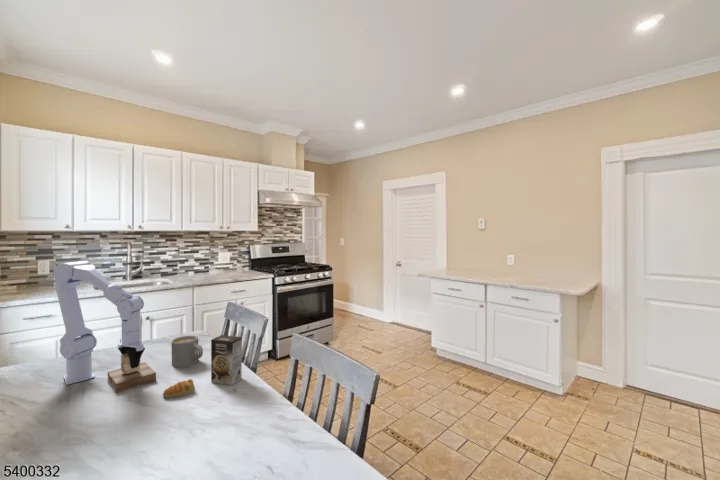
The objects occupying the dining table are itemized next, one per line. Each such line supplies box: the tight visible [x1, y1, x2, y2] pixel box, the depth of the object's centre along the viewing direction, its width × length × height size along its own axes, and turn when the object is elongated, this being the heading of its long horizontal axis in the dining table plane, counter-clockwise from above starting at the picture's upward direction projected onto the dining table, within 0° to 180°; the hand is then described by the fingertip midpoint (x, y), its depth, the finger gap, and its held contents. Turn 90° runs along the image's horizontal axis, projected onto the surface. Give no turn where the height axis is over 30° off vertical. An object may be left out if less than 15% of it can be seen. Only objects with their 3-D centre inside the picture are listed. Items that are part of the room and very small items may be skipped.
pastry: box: [162, 378, 196, 399], centre depth 111 cm, size 9×7×4 cm
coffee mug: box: [171, 335, 204, 369], centre depth 136 cm, size 13×10×10 cm
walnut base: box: [107, 361, 157, 393], centre depth 120 cm, size 14×12×3 cm
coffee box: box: [210, 334, 243, 386], centre depth 120 cm, size 9×6×16 cm
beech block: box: [120, 354, 141, 374], centre depth 120 cm, size 4×4×6 cm
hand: (131, 365), depth 120 cm, fingers closed on beech block, 4 cm apart
